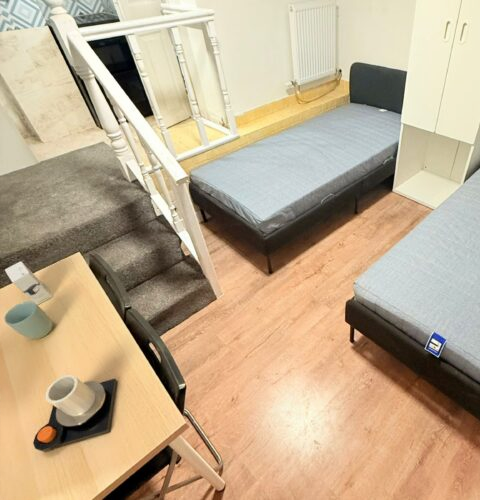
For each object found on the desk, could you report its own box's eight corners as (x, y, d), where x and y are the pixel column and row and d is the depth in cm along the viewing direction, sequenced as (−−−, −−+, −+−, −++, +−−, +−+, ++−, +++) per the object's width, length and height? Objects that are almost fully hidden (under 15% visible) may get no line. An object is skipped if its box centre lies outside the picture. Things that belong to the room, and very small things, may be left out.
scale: (39, 457, 76) (29, 453, 74) (55, 398, 86) (47, 392, 83) (109, 436, 79) (102, 431, 76) (117, 381, 88) (111, 375, 86)
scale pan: (51, 433, 76) (50, 432, 76) (63, 389, 84) (61, 388, 83) (101, 418, 78) (100, 418, 78) (108, 376, 86) (107, 375, 85)
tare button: (40, 444, 75) (35, 442, 74) (44, 431, 77) (39, 428, 76) (54, 440, 76) (50, 438, 74) (58, 426, 78) (53, 424, 77)
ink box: (27, 292, 111) (3, 269, 103) (43, 283, 114) (21, 260, 105) (36, 306, 107) (11, 282, 99) (53, 296, 110) (29, 273, 101)
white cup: (62, 419, 78) (41, 406, 72) (69, 393, 82) (49, 379, 77) (92, 411, 79) (73, 398, 73) (97, 385, 83) (80, 371, 78)
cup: (49, 316, 104) (29, 296, 97) (61, 328, 101) (41, 309, 94) (22, 334, 100) (-1, 315, 93) (34, 348, 96) (10, 329, 89)
